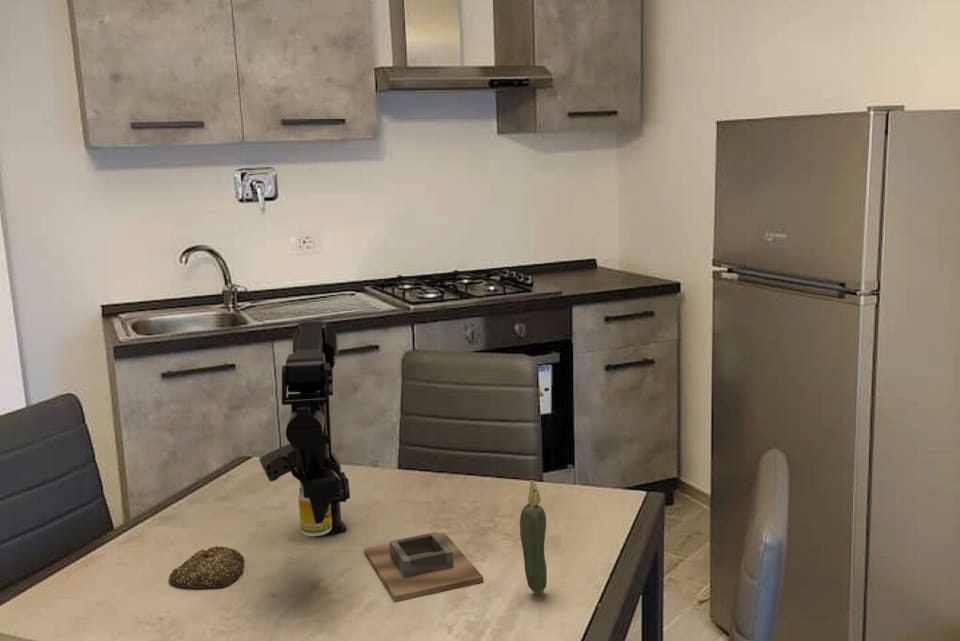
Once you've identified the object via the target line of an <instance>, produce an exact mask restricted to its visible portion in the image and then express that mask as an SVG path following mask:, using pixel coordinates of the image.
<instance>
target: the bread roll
mask: <svg viewBox="0 0 960 641" xmlns="http://www.w3.org/2000/svg"><path fill="white" fill-rule="evenodd" d="M244 568H245V558H244V556H243V554H241V553H240V552H239V551H238V550H237V549H234V548H230V547H227V546H217V545H215V546H212V547H211V546H210V547H209V548H208V549H207V550H206V549H205V550H204V549H201V550H198V551H197V552H195V553H193V554H192V556H190V558H187V559H186V561H183V563H182V564H181V565H179V566H178V567H175V568H174V569H172V571H171V573H170V575H169V578H168V581H169V584H170V585H173V586H176V587H180V588H186V589H187V588H188V589H221V588H226V587H228V586H229V585H232V584H233V583H234V582H236V581H237V580H238V578H240V576H241V575H242V574H243V573H244ZM241 573H242V574H241ZM240 574H241V575H240Z"/></svg>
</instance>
